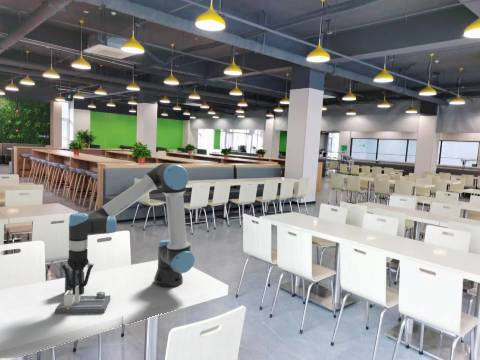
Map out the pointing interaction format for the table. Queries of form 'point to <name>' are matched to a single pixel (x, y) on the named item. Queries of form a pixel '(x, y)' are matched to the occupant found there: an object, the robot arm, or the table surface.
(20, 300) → the table surface
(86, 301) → the console
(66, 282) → the box
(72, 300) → the block
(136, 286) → the table surface
